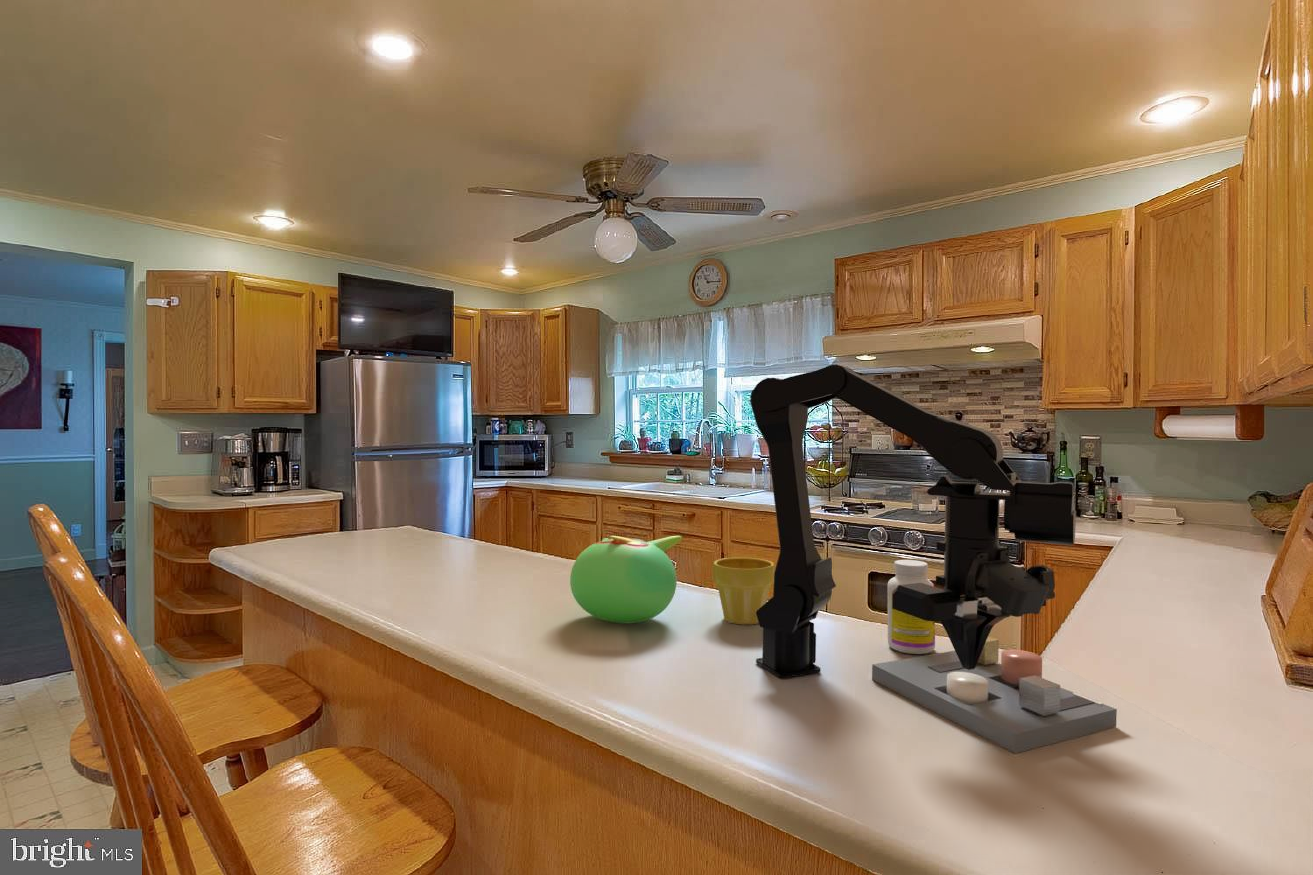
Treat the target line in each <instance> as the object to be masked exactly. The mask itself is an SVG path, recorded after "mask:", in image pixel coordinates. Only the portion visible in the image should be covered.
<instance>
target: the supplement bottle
mask: <svg viewBox="0 0 1313 875" xmlns="http://www.w3.org/2000/svg"><path fill="white" fill-rule="evenodd" d="M893 566H894V567H893V570H894V572H895V576H893V577H892V578H890V579H889V580H888V582H887V644H888V646H889V647H890V648H891V649H893V650H895V651H897V652H900V653H903V654H904V653H905V654H911V655H927V654H929V653H932V652H933V651H935V648H936V621H926V620H923V619H920V618H917V617H915V616H912V615H909V614H906V613H903V612H901V611H898V610H895V609H892V595H893V590H894V589H895V588H896V587H897V586H898V585H904V584H914V583H923V584H927V585H930V586H934V587H935V585H934V583H933V582H932V581H931V580H929V579H927V574H928V572H929V571H928V570H929V567H928V563H927V562H925V561H922V560H916V559H915V560H914V559H897V560H895V561H894V563H893Z"/></svg>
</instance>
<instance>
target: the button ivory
mask: <svg viewBox="0 0 1313 875" xmlns="http://www.w3.org/2000/svg"><path fill="white" fill-rule="evenodd" d="M947 695H949V696H951V697H953V698H955V699H957V700H960V701H962V702H964V703H966V704H968V705H972V704H977V703H982V702H986V701H988V680H987V679H986V678H984V677H982V676H979V675H976V674H973V673H967V672H951V673H949V674H947Z"/></svg>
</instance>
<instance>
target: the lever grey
mask: <svg viewBox="0 0 1313 875" xmlns="http://www.w3.org/2000/svg"><path fill="white" fill-rule="evenodd" d="M1060 687H1061V684H1059V683H1057V682H1053V681H1051V680H1048V679H1047V678H1046V679H1045V678H1043V677H1042V678H1041V677H1038V676H1035V675H1034V676H1029V677H1024V678H1020V679H1019V688H1018V690H1019V705H1020V706H1022V707H1024V708H1027V709H1029V710H1031V711H1033V712H1036V713H1038V714H1040V715H1043V716H1046V715H1051V714H1055V713H1059V712H1060Z"/></svg>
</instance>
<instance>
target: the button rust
mask: <svg viewBox="0 0 1313 875" xmlns="http://www.w3.org/2000/svg"><path fill="white" fill-rule="evenodd" d="M1000 657H1001V658H1000V659H1001V660H1000V664H1001V678H1002V679H1003V680H1005V681H1007V682H1009V683H1012V684H1015V685H1019V679H1020V678H1024V677H1029V676H1034V675H1035V676H1038V677H1041V678H1043V657H1042V656H1040V655H1039V654H1037V653H1035V652H1032V651H1027V650H1022V649H1013V648H1010V649H1009V648H1008V649H1003V650H1002V651H1001V655H1000Z"/></svg>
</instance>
